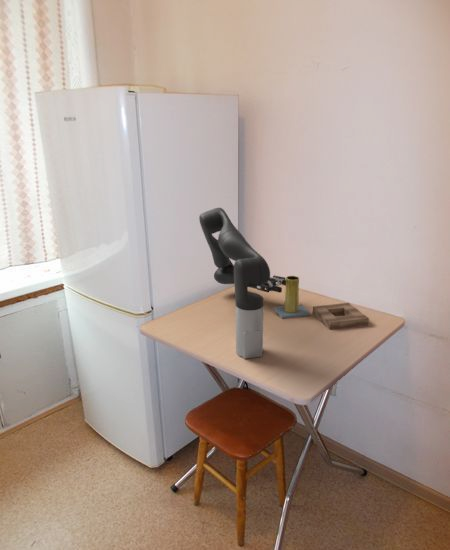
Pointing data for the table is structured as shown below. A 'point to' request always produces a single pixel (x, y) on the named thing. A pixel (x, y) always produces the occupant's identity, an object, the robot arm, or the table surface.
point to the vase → (292, 294)
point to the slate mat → (285, 314)
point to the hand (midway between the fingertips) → (286, 287)
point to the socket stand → (349, 320)
